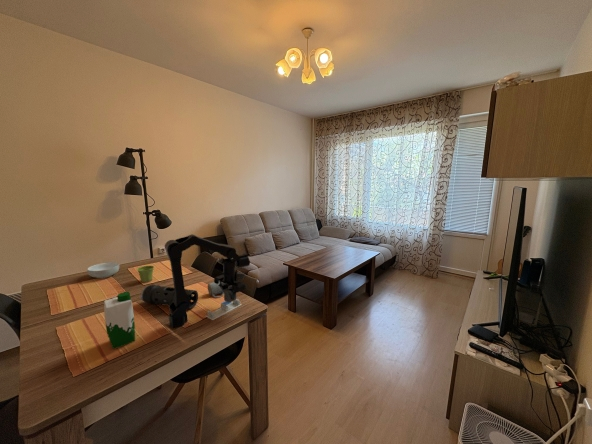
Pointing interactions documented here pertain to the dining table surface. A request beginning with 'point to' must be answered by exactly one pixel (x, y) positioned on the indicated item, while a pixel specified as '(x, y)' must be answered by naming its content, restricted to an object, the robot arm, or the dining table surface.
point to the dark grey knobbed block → (228, 295)
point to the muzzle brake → (164, 295)
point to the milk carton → (119, 320)
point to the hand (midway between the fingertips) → (230, 298)
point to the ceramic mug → (214, 289)
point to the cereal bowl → (103, 270)
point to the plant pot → (145, 273)
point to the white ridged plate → (223, 309)
